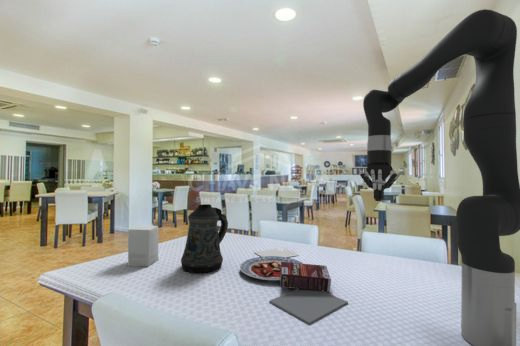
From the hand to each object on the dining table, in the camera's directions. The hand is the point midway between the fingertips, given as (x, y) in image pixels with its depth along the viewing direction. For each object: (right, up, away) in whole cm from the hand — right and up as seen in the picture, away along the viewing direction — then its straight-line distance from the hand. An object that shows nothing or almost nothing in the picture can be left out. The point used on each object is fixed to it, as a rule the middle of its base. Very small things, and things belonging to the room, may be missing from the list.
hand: (378, 200), depth 90 cm
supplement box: (-17, -26, -1) cm, 31 cm away
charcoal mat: (-26, -29, -12) cm, 41 cm away
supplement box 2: (-89, -29, +22) cm, 96 cm away
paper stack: (-31, -30, +42) cm, 60 cm away
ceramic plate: (-35, -29, +13) cm, 48 cm away
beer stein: (-63, -29, +19) cm, 72 cm away
